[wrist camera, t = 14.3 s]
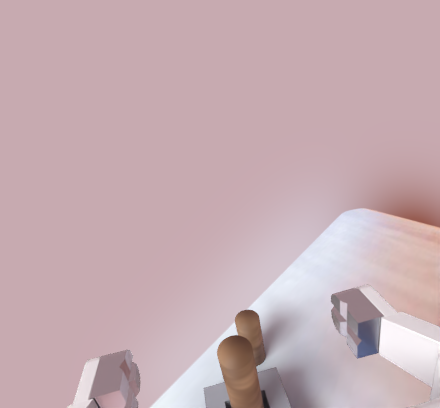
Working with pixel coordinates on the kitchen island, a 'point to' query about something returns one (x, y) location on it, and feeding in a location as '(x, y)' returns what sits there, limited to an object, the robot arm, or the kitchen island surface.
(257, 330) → the short dowel
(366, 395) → the kitchen island surface
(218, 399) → the socket block
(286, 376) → the kitchen island surface
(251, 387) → the long dowel
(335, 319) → the robot arm
